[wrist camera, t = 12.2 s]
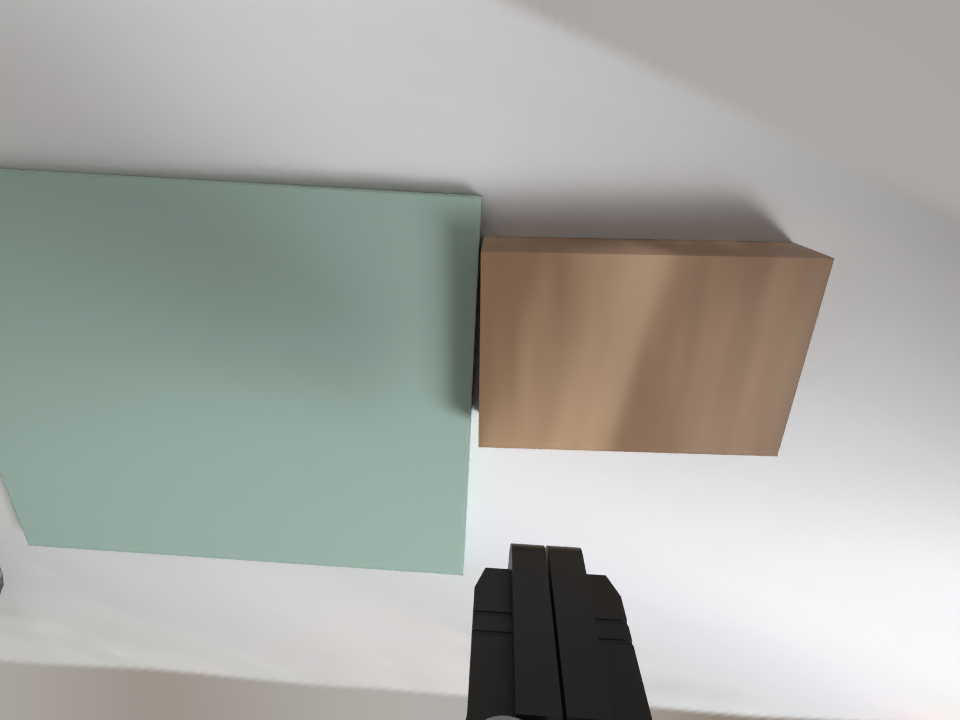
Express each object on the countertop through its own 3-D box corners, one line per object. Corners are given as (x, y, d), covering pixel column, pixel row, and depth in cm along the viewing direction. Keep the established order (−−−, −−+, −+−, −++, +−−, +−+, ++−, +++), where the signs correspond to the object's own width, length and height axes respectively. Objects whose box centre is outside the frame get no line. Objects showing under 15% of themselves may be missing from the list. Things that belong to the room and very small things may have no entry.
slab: (483, 233, 16) (785, 239, 16) (481, 407, 18) (742, 414, 18) (480, 251, 14) (833, 258, 13) (478, 447, 16) (776, 456, 16)
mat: (481, 195, 15) (481, 198, 14) (463, 563, 21) (462, 575, 20) (-100, 162, 15) (-122, 163, 15) (41, 534, 21) (28, 545, 20)
